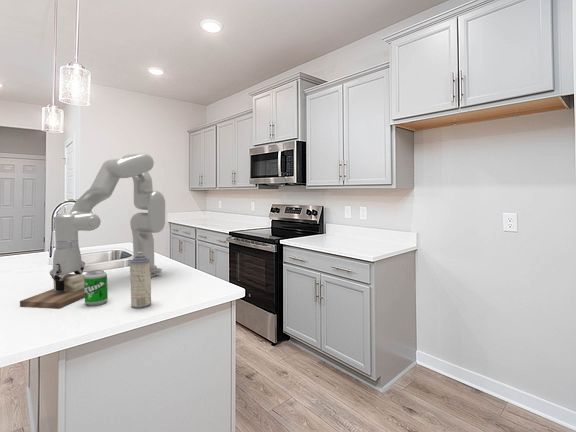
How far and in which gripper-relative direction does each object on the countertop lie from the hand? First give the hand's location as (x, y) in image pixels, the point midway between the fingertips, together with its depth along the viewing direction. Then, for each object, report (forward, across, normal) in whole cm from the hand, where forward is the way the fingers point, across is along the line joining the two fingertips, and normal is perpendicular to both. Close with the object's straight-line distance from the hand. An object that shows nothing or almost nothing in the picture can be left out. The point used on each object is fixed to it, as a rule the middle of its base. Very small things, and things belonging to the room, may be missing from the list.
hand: (69, 286), depth 132 cm
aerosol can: (+4, +7, +35) cm, 36 cm away
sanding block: (+1, 0, 0) cm, 1 cm away
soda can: (+4, +7, +17) cm, 19 cm away
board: (+3, +3, 0) cm, 5 cm away
